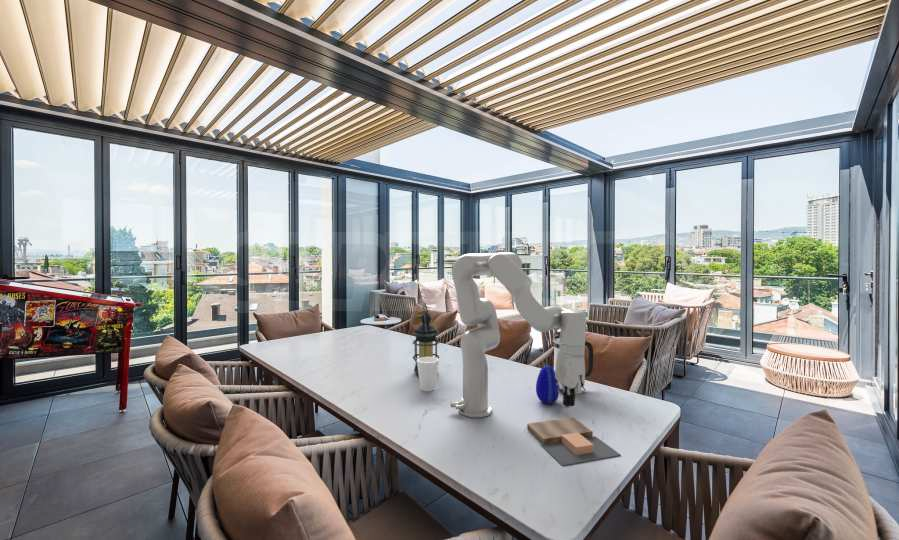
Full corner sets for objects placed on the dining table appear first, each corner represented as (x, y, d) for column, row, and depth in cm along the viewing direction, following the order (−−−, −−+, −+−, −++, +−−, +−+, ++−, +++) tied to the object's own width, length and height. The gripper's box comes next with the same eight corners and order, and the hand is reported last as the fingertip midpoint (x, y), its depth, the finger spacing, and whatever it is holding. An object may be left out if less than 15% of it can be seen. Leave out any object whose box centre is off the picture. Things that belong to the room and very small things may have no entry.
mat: (562, 466, 110) (562, 465, 110) (540, 445, 122) (541, 444, 122) (620, 455, 116) (620, 454, 116) (595, 436, 127) (595, 436, 127)
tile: (576, 455, 115) (576, 447, 115) (561, 442, 123) (561, 434, 123) (593, 452, 117) (593, 444, 117) (577, 439, 125) (578, 432, 125)
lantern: (438, 378, 185) (438, 305, 183) (411, 377, 185) (410, 305, 183) (439, 368, 199) (439, 301, 197) (414, 368, 199) (414, 301, 197)
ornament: (560, 408, 150) (560, 370, 149) (535, 406, 152) (536, 369, 151) (558, 397, 161) (558, 362, 160) (535, 396, 162) (536, 361, 162)
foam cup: (413, 390, 168) (413, 361, 168) (422, 383, 177) (422, 355, 176) (433, 393, 165) (433, 363, 164) (441, 386, 173) (441, 358, 172)
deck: (543, 445, 122) (543, 438, 122) (527, 429, 132) (527, 423, 132) (592, 437, 127) (592, 431, 127) (572, 422, 138) (572, 417, 137)
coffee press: (583, 399, 159) (585, 327, 157) (545, 391, 167) (546, 323, 166) (592, 386, 174) (594, 320, 172) (557, 380, 182) (558, 317, 180)
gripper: (548, 343, 128) (546, 397, 129) (575, 356, 114) (572, 417, 115) (568, 342, 130) (565, 395, 132) (597, 355, 116) (593, 414, 117)
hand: (568, 405), depth 123 cm, fingers closed
